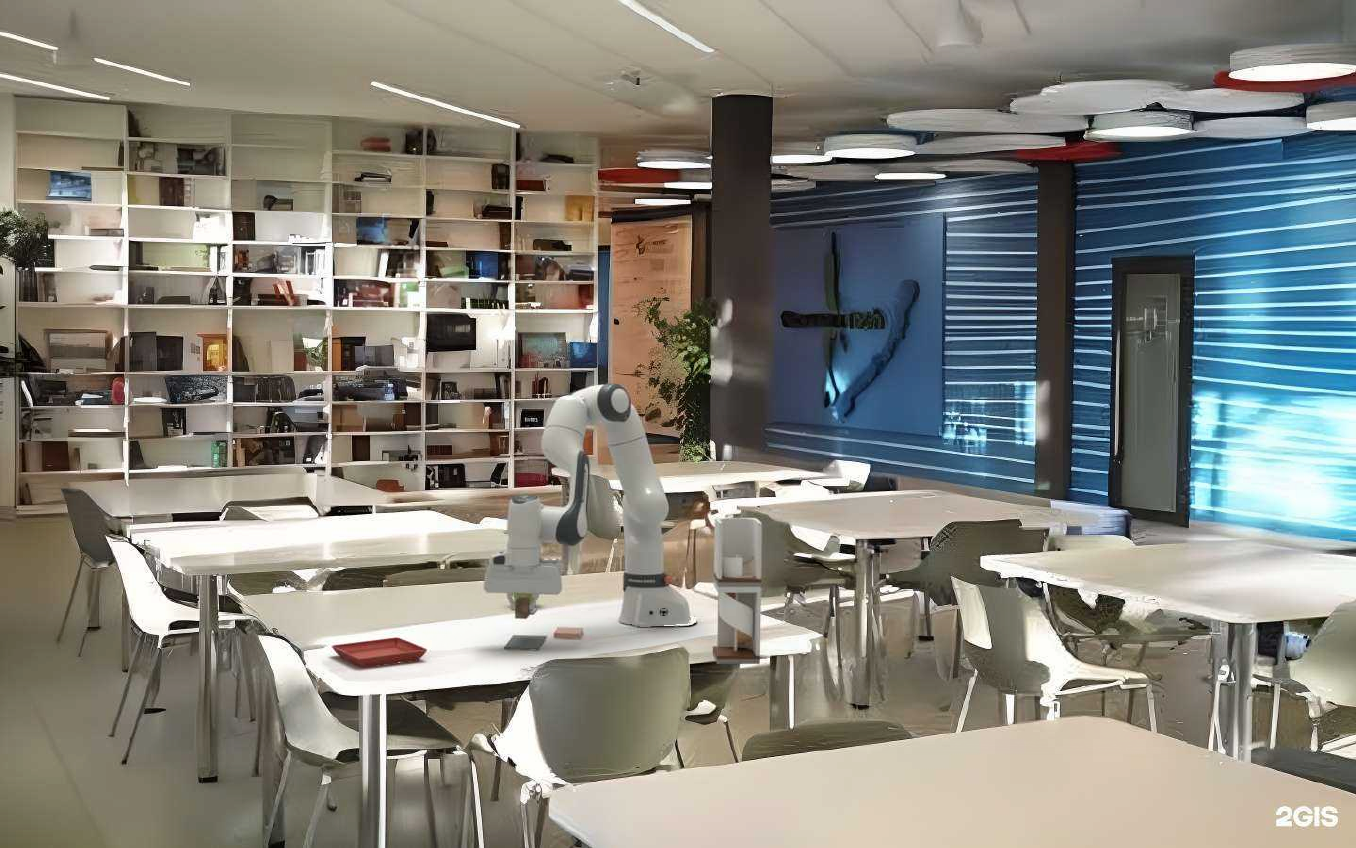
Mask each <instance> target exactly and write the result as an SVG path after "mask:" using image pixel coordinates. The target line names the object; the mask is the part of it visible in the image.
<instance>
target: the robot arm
mask: <svg viewBox="0 0 1356 848" xmlns="http://www.w3.org/2000/svg"><path fill="white" fill-rule="evenodd" d="M597 426H602V427H603V429H604V431H605V437H606V441H607V445H608V448H609V452H610V456H611V460H612V463H613V467H614V471H615V473H616V476H617V478H618V480H619V483H620V485H621V489H622V491H623V496H622V499H621V503H622V504H621V505H622V506H621V507H622V522H623V525H622V526H623V534H624V572H623V576H622V590H623V598H622V599H623V600H622V604H621V610H620V614H619V618H618V622H619V623H622V624H625V625H630V624H632V625H631V626H635V627H638V626H639V628H652V627H651V626H664V625H676V624H688V623H691V622H689V621H691V617H690V615H691V611H690V606H689V602H688V600H687V599H686V597H685V596H683V595H682V594H681V593H679V591H677V590H676V589H674V588H673V587H672V586H671V582H672V577H671V575H670V574H669V573H666V572H664V558H665V557H664V547H665V546H664V540H663V533H662V524H661V523H663V522H664V521H665V520H666V518H667V517H668V514H669V510H670V507H669V502H668V498H667V496H666V494H665V490H664V488H663V484H662V481H661V479H660V476H659V473H658V470H657V469H656V466H655V464H654V460H653V456H652V453H651V449H650V446H649V443H648V439H647V435H646V432H645V429H644V426H643V423H642V420H641V418H640V415H639V414H638V411H637V409H636V407H635V406H634V404H632V402H631V398H630V394H629V392H628V390H627V389H625V387H624V386H623V385H621V384H619V383H614V382H613V383H611V382H608V383H605V384H596V385H590V386H588V387H585V388H582V389H579V390H574V391H572V392H569V393H568V394H567V395H563V396H560V397H558V398H557V399H556V400H555V402H554V403H553V405H552V407H551V410H550V413H549V414H548V417H547V421H546V422H545V426H544V430H543V433H542V437H541V443H540V445H541V452H542V453H543V455H544V457H545V458H546V460H548V461H549V462H550V463H551V464H553V465H554V466H556V467H557V468H559V469H561V470H563V471H564V472H565V471H566V472H567V473H569V476H570V481H569V482H570V483H569V495H568V496H569V497H568V502H567V504H566V505H565V506H551V505H550V506H549V505H545V504H543V503H541V500H540V497H539V495H536V494H533V493H532V494H530V493H527V494H526V493H524V494H518V495H516V496H513V497H512V498H511V499H510V502H509V506H508V510H507V511H508V512H507V520H506V521H507V522H506V524H507V525H506V530H507V534H508V539H507V542H506V550H504V551H503V550H502V551H500V552H497V553H494V554H492V555H490V557H489V558H488V563H489V564H488V565H489V566H488V567H487V568H486V570H485V573H484V580H483V590H484V591H485V593H487V594H488V593H492V594H495V593H496V594H506V599H507V600H508V601H509V603H510V610H511V611H513V612H515V602H514V593H519V594H533V598H535V599H534V601H533V602H532V603H529V604H528V611H534V609H535V608H536V605H535V603H536V604H537V601H538V599H540V598H539V597H540V595H559V594H560V593H561V592H562V591H563V578H562V575H563V574H564V563H563V561H561V560H559V559H558V558H556V557H555V558H548V557H547V558H546V557H542V543H541V542H543V543H551V544H560V545H565V546H570V547H574V546H576V545H578V544H579V543H581V542H582V541H583V540H584V539H585V537H586V536H587V533H588V529H589V528H588V527H589V523H588V502H589V501H588V500H589V491H590V490H589V489H590V475H591V474H590V472H591V470H590V469H591V465H590V458H589V456H588V454H587V453H586V452H584V440H585V436H586V430H587V428H588V427H589V428H591V427H597Z"/></svg>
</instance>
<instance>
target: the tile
mask: <svg viewBox="0 0 1356 848" xmlns="http://www.w3.org/2000/svg"><path fill="white" fill-rule="evenodd" d="M583 634H584V627H568V626H567V627H565V626H564V627H562V626H561V627H560V626H559V627H556V629H555V630H554V632H553V639H554V638H578V639H577V640H580V639H581V638H580V637H582V636H583Z"/></svg>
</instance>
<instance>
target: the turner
mask: <svg viewBox="0 0 1356 848" xmlns="http://www.w3.org/2000/svg"><path fill="white" fill-rule="evenodd" d="M529 603H530V598H527V597H519V598H518V599H517V600H516V601H515V611H514V619H520V620H521V619H522V620H527V619H528V618H529V617H530V616H533V615H535V614H536V613H537V612H538V611H539V610H538V609H539V608H538V607H535V609H534V611H528V604H529Z"/></svg>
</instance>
